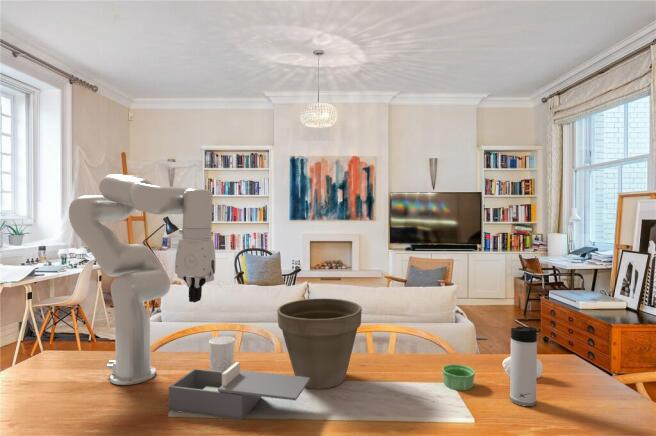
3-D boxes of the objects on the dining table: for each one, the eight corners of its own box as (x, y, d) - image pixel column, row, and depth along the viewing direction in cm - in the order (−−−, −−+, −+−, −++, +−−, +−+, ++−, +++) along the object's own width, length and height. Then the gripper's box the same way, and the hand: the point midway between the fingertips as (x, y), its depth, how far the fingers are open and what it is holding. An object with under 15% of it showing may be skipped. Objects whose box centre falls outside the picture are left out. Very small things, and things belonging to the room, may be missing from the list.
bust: (540, 383, 126) (529, 346, 133) (551, 376, 120) (539, 338, 127) (501, 383, 126) (492, 346, 133) (510, 376, 120) (500, 338, 127)
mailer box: (168, 410, 105) (168, 386, 105) (195, 389, 116) (194, 368, 116) (241, 419, 100) (241, 395, 100) (261, 397, 112) (261, 375, 111)
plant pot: (281, 402, 109) (281, 320, 109) (274, 366, 133) (274, 299, 133) (372, 393, 114) (372, 315, 114) (349, 361, 138) (349, 296, 138)
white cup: (228, 378, 125) (228, 345, 124) (203, 375, 126) (203, 343, 126) (238, 368, 132) (238, 336, 132) (216, 366, 134) (216, 335, 134)
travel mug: (526, 409, 105) (527, 331, 105) (504, 399, 111) (505, 325, 110) (542, 404, 108) (543, 328, 107) (520, 394, 114) (521, 322, 113)
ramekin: (439, 388, 118) (439, 372, 118) (445, 376, 126) (445, 362, 126) (472, 394, 114) (472, 378, 114) (476, 381, 122) (476, 367, 122)
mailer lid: (217, 391, 101) (217, 376, 101) (239, 372, 113) (239, 359, 113) (295, 400, 97) (295, 385, 96) (310, 379, 108) (310, 366, 108)
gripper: (164, 233, 111) (162, 301, 112) (214, 237, 107) (212, 307, 108) (181, 231, 118) (179, 295, 119) (228, 235, 114) (226, 301, 115)
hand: (194, 300), depth 114 cm, fingers closed
